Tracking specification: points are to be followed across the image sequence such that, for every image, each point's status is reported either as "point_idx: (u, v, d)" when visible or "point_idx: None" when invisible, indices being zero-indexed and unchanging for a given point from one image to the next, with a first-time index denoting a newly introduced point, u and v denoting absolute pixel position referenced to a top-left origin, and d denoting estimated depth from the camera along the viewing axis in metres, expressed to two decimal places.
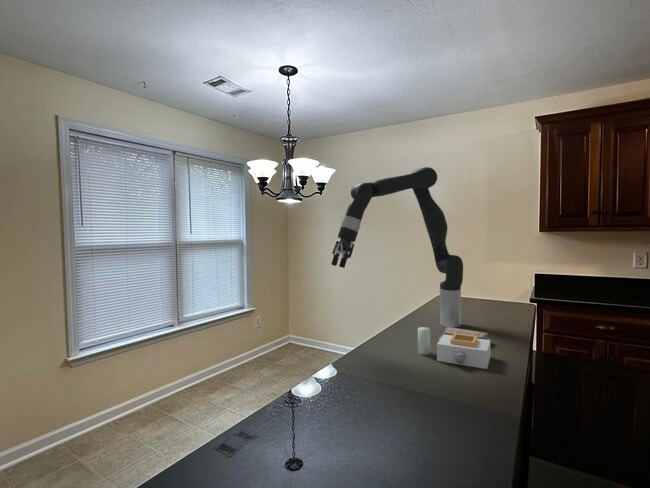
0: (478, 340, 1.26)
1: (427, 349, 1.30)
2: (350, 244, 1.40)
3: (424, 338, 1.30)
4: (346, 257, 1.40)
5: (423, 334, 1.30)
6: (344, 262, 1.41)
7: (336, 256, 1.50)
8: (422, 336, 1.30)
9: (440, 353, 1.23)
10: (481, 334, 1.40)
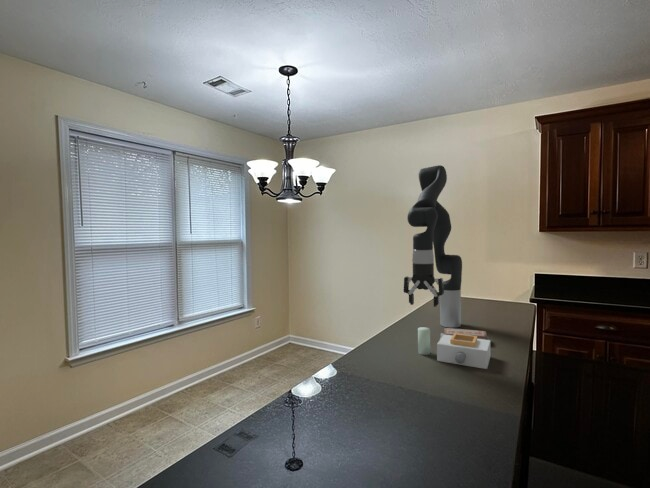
0: (478, 340, 1.26)
1: (427, 349, 1.30)
2: (442, 281, 1.27)
3: (424, 338, 1.30)
4: (440, 295, 1.28)
5: (423, 334, 1.30)
6: (438, 300, 1.29)
7: (412, 294, 1.33)
8: (422, 336, 1.30)
9: (440, 353, 1.23)
10: (481, 332, 1.41)
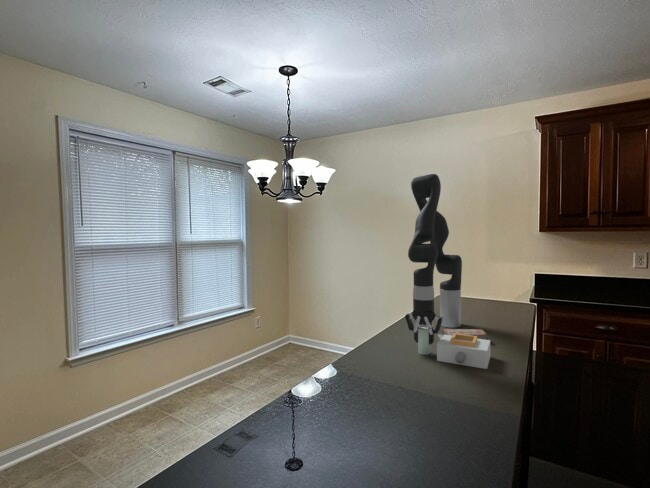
0: (478, 340, 1.26)
1: (427, 349, 1.30)
2: (441, 320, 1.28)
3: (424, 338, 1.30)
4: None
5: (423, 334, 1.30)
6: (433, 338, 1.30)
7: None
8: (422, 336, 1.30)
9: (440, 353, 1.23)
10: (480, 331, 1.43)
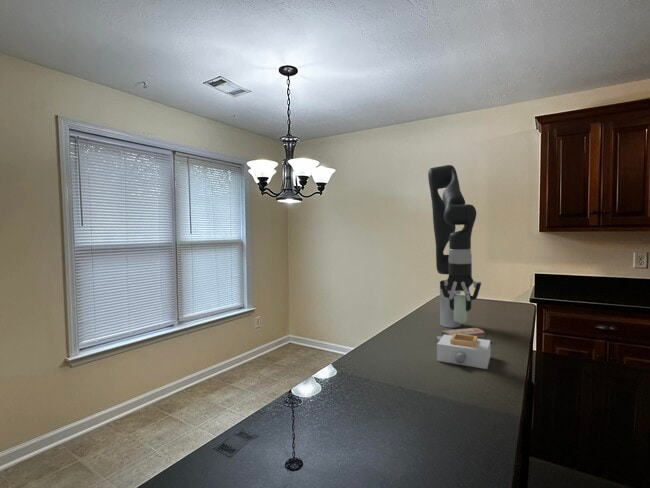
0: (478, 340, 1.26)
1: (464, 316, 1.23)
2: (480, 285, 1.21)
3: (460, 304, 1.23)
4: None
5: (460, 300, 1.23)
6: None
7: (453, 298, 1.26)
8: (458, 302, 1.23)
9: (440, 353, 1.23)
10: (478, 329, 1.45)
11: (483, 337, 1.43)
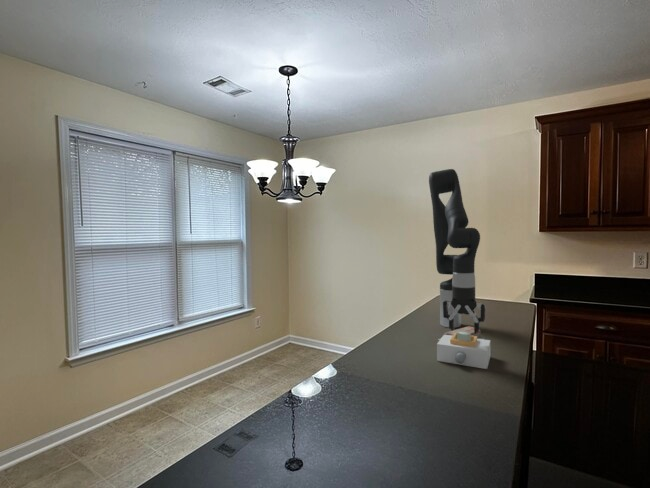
0: (478, 340, 1.26)
1: None
2: (484, 306, 1.21)
3: None
4: None
5: (464, 339, 1.23)
6: (478, 327, 1.22)
7: (453, 319, 1.26)
8: None
9: (440, 353, 1.23)
10: (473, 328, 1.48)
11: (479, 335, 1.46)
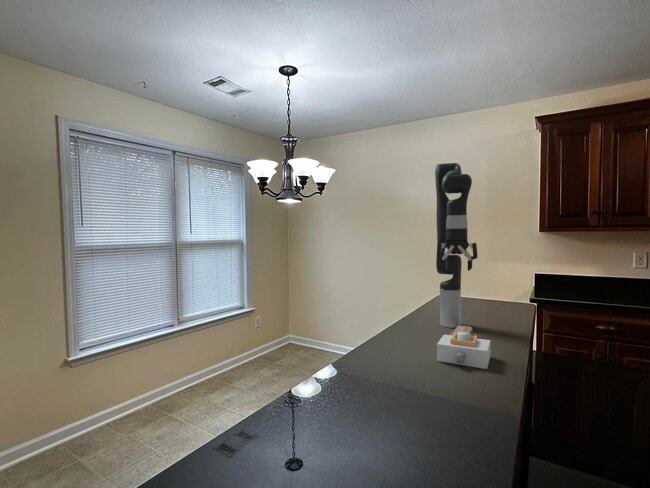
0: (478, 340, 1.26)
1: None
2: (476, 245, 1.31)
3: None
4: (473, 259, 1.32)
5: (464, 339, 1.23)
6: (471, 264, 1.33)
7: (445, 259, 1.37)
8: None
9: (440, 353, 1.23)
10: (464, 326, 1.50)
11: None
